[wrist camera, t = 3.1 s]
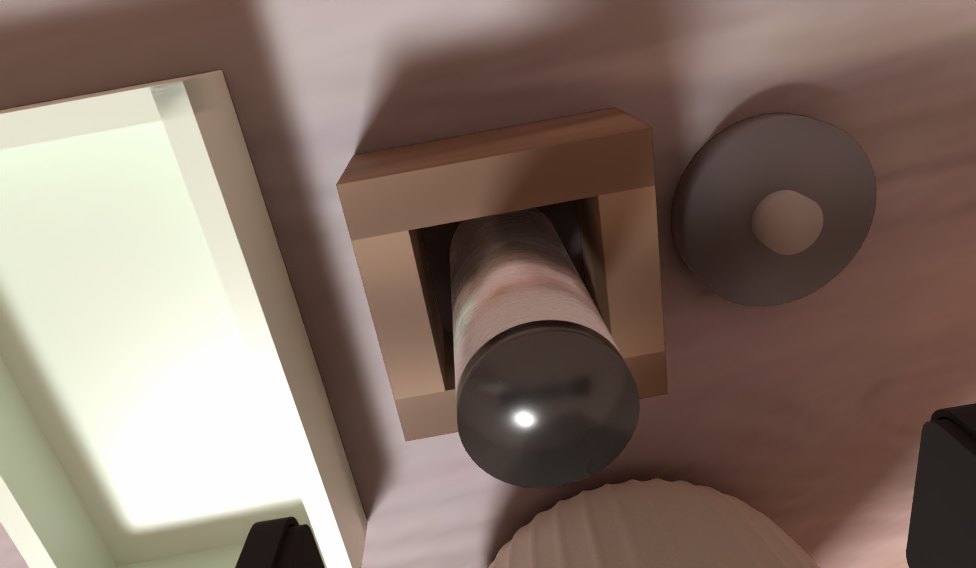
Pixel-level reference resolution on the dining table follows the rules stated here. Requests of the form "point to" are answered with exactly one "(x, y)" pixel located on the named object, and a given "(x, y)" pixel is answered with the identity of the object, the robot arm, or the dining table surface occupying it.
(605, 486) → the canister
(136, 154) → the tray
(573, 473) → the dark capped bottle
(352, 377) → the dining table surface
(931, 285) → the dining table surface
